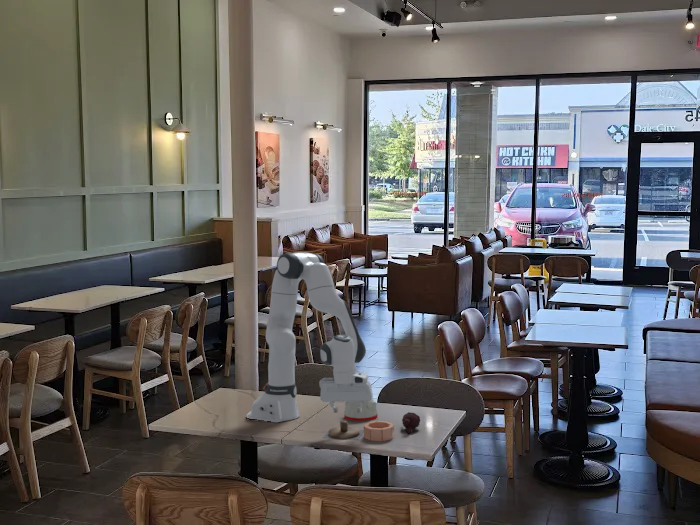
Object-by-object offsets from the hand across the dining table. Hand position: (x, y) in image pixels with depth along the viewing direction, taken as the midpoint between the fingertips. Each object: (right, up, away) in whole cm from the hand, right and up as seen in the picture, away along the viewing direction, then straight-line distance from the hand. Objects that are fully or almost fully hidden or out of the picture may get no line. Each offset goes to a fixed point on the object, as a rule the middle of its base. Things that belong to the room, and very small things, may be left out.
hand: (347, 412), depth 309 cm
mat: (-1, -9, 0) cm, 9 cm away
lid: (-1, -9, 0) cm, 9 cm away
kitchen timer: (+6, -7, +25) cm, 27 cm away
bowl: (+12, -9, -4) cm, 16 cm away
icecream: (+25, -8, +7) cm, 27 cm away
